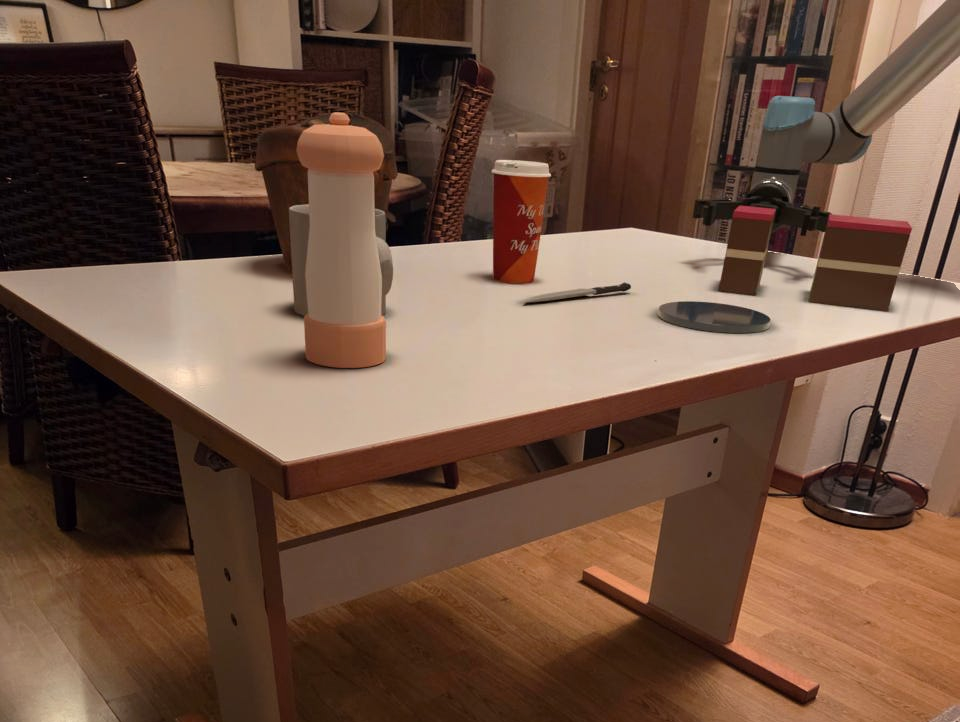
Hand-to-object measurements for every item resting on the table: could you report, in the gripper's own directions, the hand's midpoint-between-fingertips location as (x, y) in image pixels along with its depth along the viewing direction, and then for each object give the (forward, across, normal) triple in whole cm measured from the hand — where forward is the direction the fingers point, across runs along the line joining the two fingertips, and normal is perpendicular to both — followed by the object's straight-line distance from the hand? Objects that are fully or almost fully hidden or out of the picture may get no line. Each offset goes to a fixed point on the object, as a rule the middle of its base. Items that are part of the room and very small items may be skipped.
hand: (756, 220), depth 125 cm
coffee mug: (+56, -38, +8) cm, 68 cm away
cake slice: (+10, 0, +8) cm, 12 cm away
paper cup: (+24, -29, +8) cm, 38 cm away
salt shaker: (+72, -30, +8) cm, 78 cm away
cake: (+9, +15, +8) cm, 19 cm away
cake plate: (+34, -1, +8) cm, 34 cm away
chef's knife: (+30, -19, +8) cm, 37 cm away
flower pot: (+32, -52, +8) cm, 62 cm away
